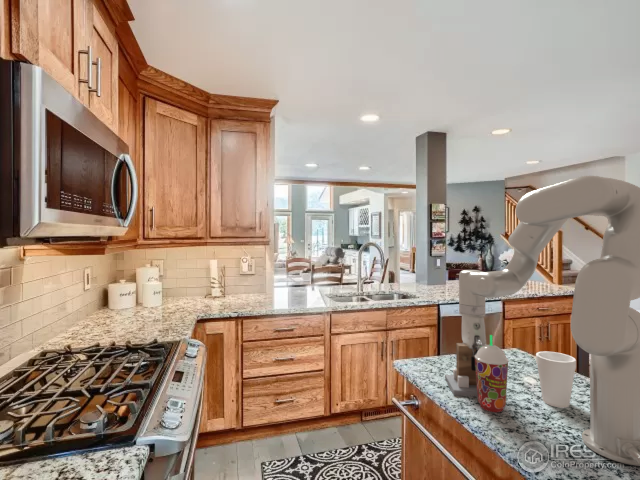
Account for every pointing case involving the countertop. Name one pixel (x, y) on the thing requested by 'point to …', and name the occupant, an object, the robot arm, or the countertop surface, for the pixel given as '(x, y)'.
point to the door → (465, 363)
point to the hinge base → (460, 385)
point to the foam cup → (556, 377)
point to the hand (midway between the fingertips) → (472, 364)
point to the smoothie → (491, 377)
